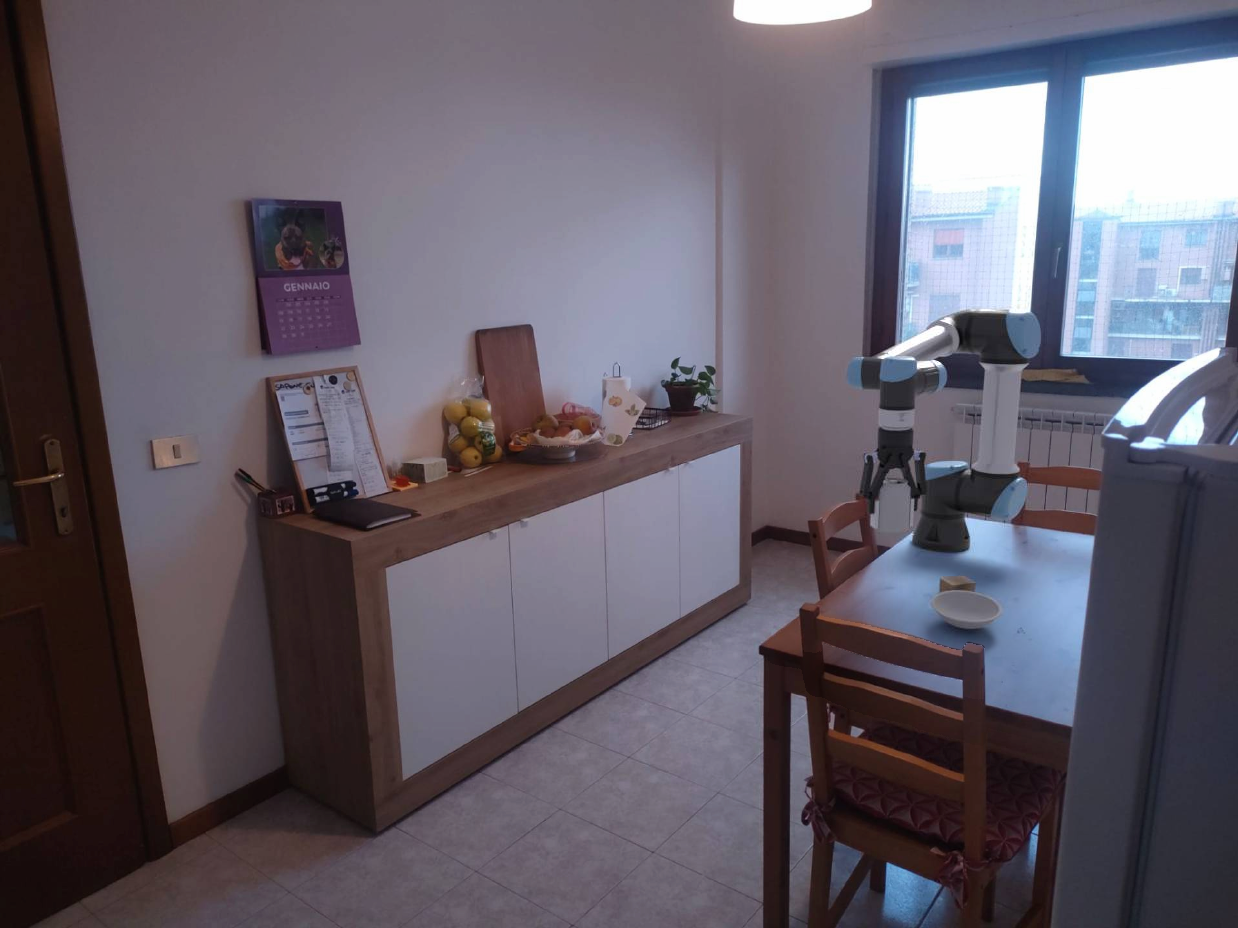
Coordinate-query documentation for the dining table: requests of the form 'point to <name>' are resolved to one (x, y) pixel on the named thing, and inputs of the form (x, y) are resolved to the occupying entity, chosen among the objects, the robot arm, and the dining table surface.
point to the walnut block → (956, 584)
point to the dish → (966, 608)
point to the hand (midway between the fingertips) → (891, 525)
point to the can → (894, 506)
